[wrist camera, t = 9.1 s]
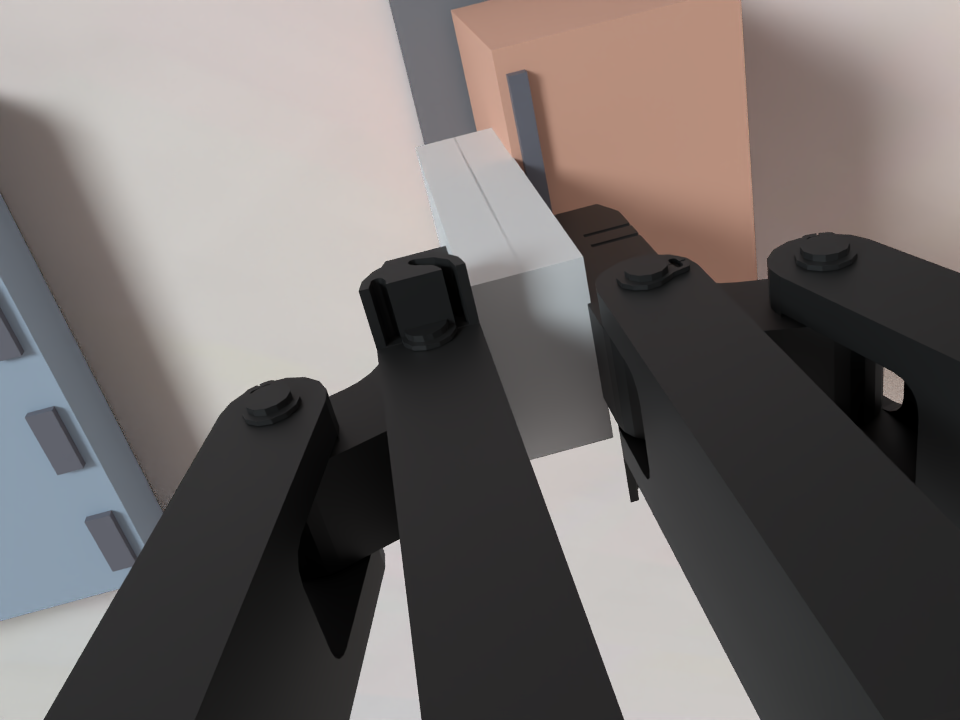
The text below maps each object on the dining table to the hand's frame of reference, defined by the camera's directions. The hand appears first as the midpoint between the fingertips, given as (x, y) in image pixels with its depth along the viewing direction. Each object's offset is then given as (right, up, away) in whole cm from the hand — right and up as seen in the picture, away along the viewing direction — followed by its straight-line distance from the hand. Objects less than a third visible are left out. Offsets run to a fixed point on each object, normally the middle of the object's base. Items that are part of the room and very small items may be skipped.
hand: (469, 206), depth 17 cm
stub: (+2, +2, +3) cm, 4 cm away
